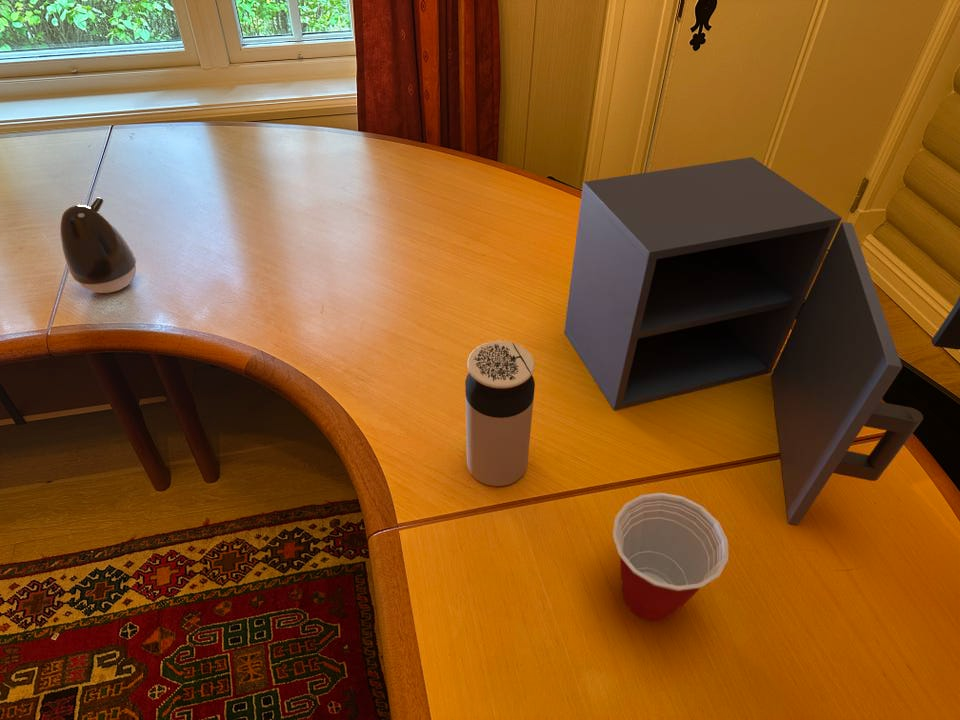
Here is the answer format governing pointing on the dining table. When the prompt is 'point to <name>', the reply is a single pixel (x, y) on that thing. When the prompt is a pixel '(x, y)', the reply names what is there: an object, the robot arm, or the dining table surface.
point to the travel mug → (499, 411)
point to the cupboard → (690, 276)
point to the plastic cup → (666, 552)
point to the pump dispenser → (95, 249)
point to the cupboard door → (837, 381)
